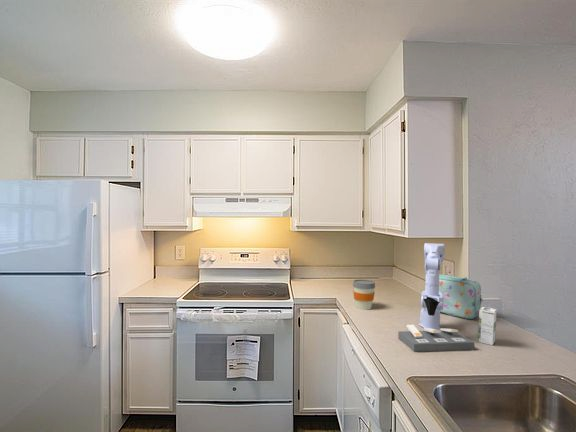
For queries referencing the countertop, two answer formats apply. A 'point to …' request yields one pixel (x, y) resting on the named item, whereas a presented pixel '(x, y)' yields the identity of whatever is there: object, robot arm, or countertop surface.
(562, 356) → the countertop surface
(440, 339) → the power strip
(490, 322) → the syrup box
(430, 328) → the rocker middle
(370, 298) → the reusable coffee cup
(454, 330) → the rocker
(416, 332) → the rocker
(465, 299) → the lunch box
